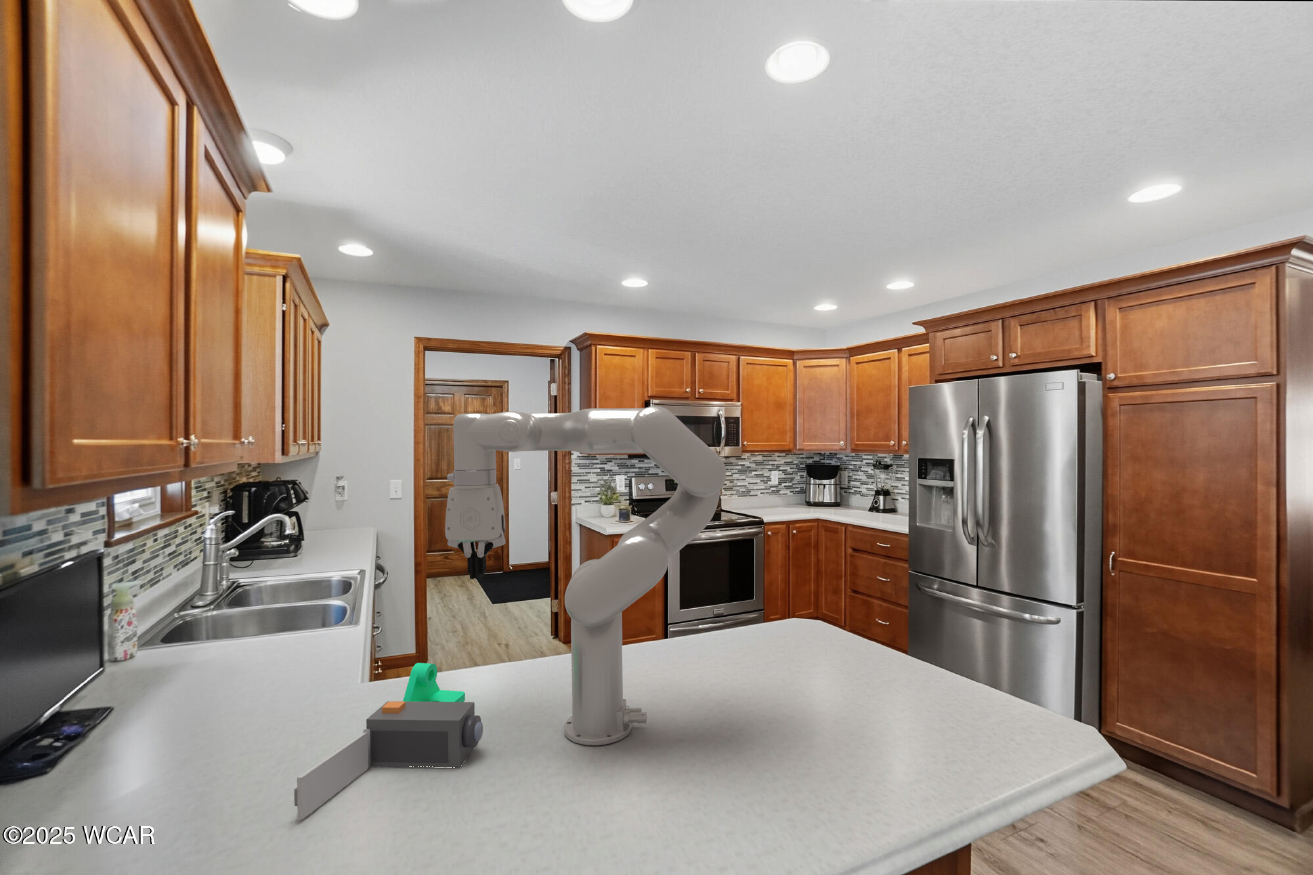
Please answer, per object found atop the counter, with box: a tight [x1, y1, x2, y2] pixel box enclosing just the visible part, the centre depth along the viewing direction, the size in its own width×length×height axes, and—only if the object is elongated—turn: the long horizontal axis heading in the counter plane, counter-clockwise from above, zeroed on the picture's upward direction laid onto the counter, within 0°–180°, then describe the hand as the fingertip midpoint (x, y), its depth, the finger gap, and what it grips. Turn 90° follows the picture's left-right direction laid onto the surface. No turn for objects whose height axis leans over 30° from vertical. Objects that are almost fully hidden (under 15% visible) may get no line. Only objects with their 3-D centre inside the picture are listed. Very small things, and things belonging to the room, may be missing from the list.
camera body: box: [365, 700, 484, 769], centre depth 104 cm, size 18×7×9 cm, turn 86°
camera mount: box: [402, 662, 466, 702], centre depth 120 cm, size 12×8×10 cm, turn 169°
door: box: [293, 728, 372, 820], centre depth 94 cm, size 14×1×6 cm, turn 167°
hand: (477, 577), depth 112 cm, fingers closed
